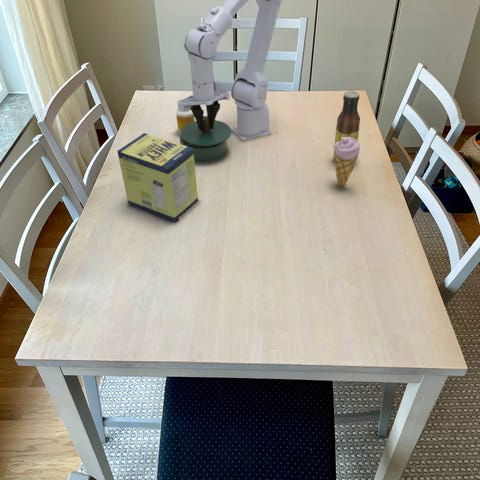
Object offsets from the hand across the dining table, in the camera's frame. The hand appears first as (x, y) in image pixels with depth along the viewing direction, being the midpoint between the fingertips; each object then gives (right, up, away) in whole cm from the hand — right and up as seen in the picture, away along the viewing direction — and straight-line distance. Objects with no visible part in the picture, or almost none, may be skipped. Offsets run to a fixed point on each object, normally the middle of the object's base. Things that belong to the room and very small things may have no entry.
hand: (205, 128), depth 140 cm
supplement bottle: (-7, +4, +15) cm, 17 cm away
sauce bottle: (+39, -9, +2) cm, 40 cm away
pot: (-1, -5, +7) cm, 8 cm away
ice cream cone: (+37, -18, -7) cm, 41 cm away
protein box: (-10, -23, -11) cm, 28 cm away
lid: (0, -1, +1) cm, 1 cm away
